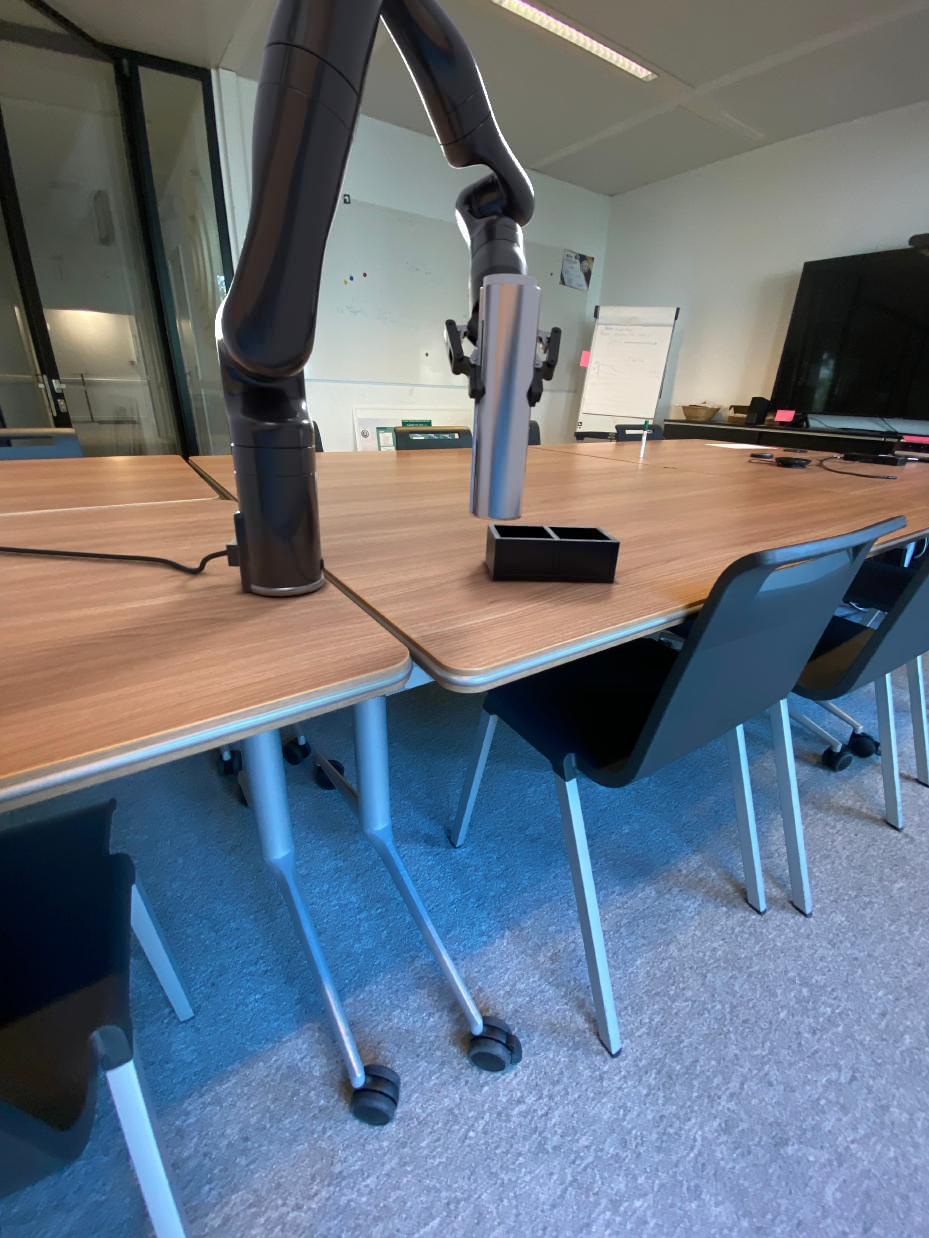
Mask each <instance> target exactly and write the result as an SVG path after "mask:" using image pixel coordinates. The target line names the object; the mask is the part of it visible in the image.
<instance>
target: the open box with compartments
mask: <svg viewBox="0 0 929 1238" xmlns="http://www.w3.org/2000/svg"><path fill="white" fill-rule="evenodd" d="M620 545H621V541H619V539H616V538H615V537H614V536H613V535H611V534H610V533H608V532H607V531H606V530H604V529H603V528H602V527H601V526H582V525H581V526H580V525H579V526H578V525H577V526H576V525H543V524H542V525H540V524H513V523H512V524H511V523H509V524H507V523H487V530H486V544H485V560H484V561H485V564H486V568H487V569H488V572H489V574H490V577H491V579H492V581H496V582H497V581H499V582H501V581H502V582H540V583H541V582H542V583H543V582H544V583H545V582H546V583H547V582H548V583H591V584H592V583H594V584H596V583H598V584H614V583H615V576H616V570H617V564H618V559H619V552H620Z"/></svg>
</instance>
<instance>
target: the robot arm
mask: <svg viewBox="0 0 929 1238" xmlns="http://www.w3.org/2000/svg"><path fill="white" fill-rule="evenodd" d="M380 19H381V20H382V22H383V24H384V26H385V28H386V29H387V31H388V33H389V35H390V37H391V39H392V40H393V43H394V44H395V46H396V48H397V50H398V52H399V54H400V56H401V58H402V60H403V62H404V64H405V66H406V69H407V71H408V72H409V75H410V76H411V79H412V82H413V83H414V86H415V88H416V90H417V92H418V94H419V97H420V99H421V102H422V105H423V106H424V110H425V112H426V115H427V117H428V120H429V122H430V124H431V127H432V129H433V131H434V135H435V137H436V140H437V142H438V143H439V148H440V149H441V151H442V154H443V156H444V159H445V161H446V162H447V164H448V166H449V167H451V168H453V169H458V170H459V169H460V170H461V169H466V168H470V167H474V166H475V167H476V166H485V167H487V168H488V169H490V170H491V171H492V172H490V173H488V174H487V175H485V176H483V177H481V178H479V179H478V180H476V181H474V182H472V183H470V184H468V185H467V186H466V187H464V188H463V189H461V190H460V192H459V194H458V196H457V197H456V199H455V204H454V217H455V220H456V224H457V226H458V229H459V231H460V233H461V235H462V237H463V238H464V240H465V243H466V244H467V247H468V251H469V274H468V275H469V276H468V290H467V295H468V303H469V305H468V306H469V320H467V322H466V324H460V325H457V323H456V321H455V320H454V319H451V318H448V319H446V320H445V321H444V335H443V336H444V337H443V342H444V343H443V344H444V346H445V347H444V348H445V351H446V354H447V358H448V362H449V367H450V371H451V373H452V375H455V376H460V375H462V374H463V375H464V376H466V377H467V395H468V398H469V399H472V400H473V403H474V404H480V399H481V398H482V393H483V383H482V382H481V367H482V365H476V364H477V343H478V323H479V303H480V288H481V287H483V281H484V277H485V276H488V275H492V274H520V275H526V276H530V271H529V268H528V264H527V259H526V247H525V239H524V234H523V231H522V229H524V228H525V227H526V226H527V225H529V224H530V222H531V221H532V219H533V217H534V214H535V209H536V197H535V192H534V188H533V186H532V183H531V180H530V179H529V177H528V175H527V173H526V171H525V170H524V169H523V167H522V165H521V164H520V163H519V161H518V160H517V158H516V157H515V154H513V152H512V150H511V149H510V147H509V145H508V143H507V141H506V139H505V138H504V136H503V134H502V132H501V130H500V128H499V126H498V123H497V120H496V118H495V116H494V115H495V114H494V113H493V109H492V106H491V104H490V101H489V97H488V93H487V90H486V87H485V85H484V82H483V78H482V76H481V72H480V69H479V66H478V64H477V61H476V59H475V57H474V55H473V54H474V53H472V50H471V48H470V46H469V45H468V42H467V41H466V39H465V38H464V37H465V36H463V34H462V33H461V30H459V28H458V26H456V24H455V22H454V21H453V20H452V19H451V17H450V16H449V14H448V13H447V12H446V10H445V9H444V8H443V7H442V5H441V4H440V2H439V1H438V0H277V3H276V5H275V8H274V11H273V14H272V17H271V21H270V24H269V27H268V31H267V35H266V39H265V43H264V48H263V54H262V58H261V64H260V70H259V71H260V72H259V77H258V83H257V88H256V95H255V102H254V111H253V112H254V113H253V122H252V124H253V125H252V134H251V135H252V136H251V137H252V138H251V197H250V198H251V200H250V209H249V217H248V220H247V227H246V231H245V235H244V240H243V243H242V247H241V250H240V255H239V257H238V262H237V266H236V269H235V272H234V275H233V279H232V282H231V285H230V288H229V290H228V293H227V295H226V297H225V298H224V300H222V303H221V304H220V306H219V308H218V311H217V313H216V317H215V341H216V349H217V358H218V365H219V372H220V373H219V374H220V381H221V387H222V388H221V389H222V395H223V396H222V397H223V406H224V411H225V416H226V421H227V426H228V433H229V438H230V443H231V444H230V446H231V448H230V449H231V456H232V464H233V465H232V466H233V471H234V480H235V488H236V489H235V490H236V498H237V506H238V507H237V508H238V511H236V512H234V514H233V524H234V533H235V537H234V538H233V539H231V540H230V541H229V542H227V543H226V544H225V549H224V550H219V551H215V552H212V553H210V554H207V555H206V556H204V557H203V558H202V559H201V561H200V563H199V565H198V566H197V567H193V568H192V567H188V566H185V565H183V564H180V563H178V562H176V561H173V560H171V559H168V558H162V557H156V556H147V555H134V554H133V555H131V554H114V553H113V554H112V553H100V552H82V551H67V550H56V549H55V550H53V549H39V548H38V549H37V548H25V547H11V546H0V552H1V553H3V552H4V553H14V554H16V553H17V554H27V555H28V554H29V555H44V556H56V557H57V556H58V557H59V556H60V557H74V558H87V559H105V560H117V561H118V560H119V561H139V562H150V563H158V564H159V563H160V564H164V565H167V566H169V567H170V566H171V567H173V568H175V569H177V570H180V571H183V572H186V573H189V574H199V573H201V572H203V571H204V570H205V568H206V565H207V563H209V562H210V561H212V560H214V559H217V558H221V557H226V556H227V557H226V558H227V566H228V567H235V568H236V567H238V568H239V575H240V582H241V591H242V592H250V593H254V594H256V595H261V596H267V597H291V596H298V595H299V596H300V595H304V594H308V593H312V592H314V591H317V590H318V589H320V588H321V587H322V586H323V585H324V583H325V580H324V573H323V571H324V570H325V560H324V558H323V557H322V541H321V526H320V525H321V524H320V508H319V507H320V506H319V494H318V493H319V492H318V491H319V490H318V475H317V457H316V442H315V441H316V439H315V437H316V436H315V426H314V422H313V419H312V417H311V414H310V409H309V405H308V399H307V390H306V378H305V367H306V365H307V364H308V362H309V361H310V358H311V357H312V354H313V351H314V348H315V342H316V334H317V324H318V315H319V303H320V295H321V286H322V279H323V278H322V277H323V271H324V262H325V255H326V250H327V247H328V246H327V245H328V242H329V238H330V234H331V230H332V228H333V224H334V220H335V218H336V214H337V210H338V207H339V203H340V200H341V196H342V192H343V188H344V185H345V182H346V181H345V180H346V177H347V172H348V169H349V166H350V162H351V157H352V154H353V149H354V144H355V140H356V135H357V131H358V125H359V121H360V116H361V112H362V107H363V100H364V95H365V88H366V83H367V79H368V74H369V68H370V65H371V61H372V55H373V52H374V51H373V50H374V46H375V44H376V43H375V42H376V38H377V33H378V28H379V24H380ZM562 332H563V331H562V329H561V328H560V327H558V326H553V327H552V328H551V330H550V331H545V330H540V329H538V337H537V344H538V345H539V346H540V349H541V350H542V351H541V353H542V354H543V355H545V356H544V360H541V358H540V356H539V355H538V353H537V352H536V360H535V371H534V379H533V382H532V388H531V399H530V405H531V408H536V405H537V404H539V403H540V401H541V399H542V396H543V394H544V393H543V392H544V382H543V381H546V382H551V381H552V380H553V378H554V374H555V370H556V368H557V365H558V363H559V362H558V361H559V354H560V347H561V339H562ZM464 339H467V341H468V342H470V344H471V345H472V346H473V347H474V349H473V351H472V353H470V354H471V355H470V356H467V355H466V354H465V352H464V348H463V343H464ZM481 360H482V355H481ZM474 404H473V405H474Z"/></svg>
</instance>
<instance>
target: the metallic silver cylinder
mask: <svg viewBox="0 0 929 1238" xmlns="http://www.w3.org/2000/svg"><path fill="white" fill-rule="evenodd" d="M537 284H538V279H537V278H536V277H534V276H531V275H529V276H526V275H520V274H492V275H488V276H485V277H484V281H483V287H481V288H480V303H479V323H478V343H477V364H476V365H482V367H481V382H482V383H483V393H482V398H481V399H480V404H473V405H474V406H473V425H472V430H473V431H472V449H471V466H470V485H469V487H470V488H469V505H468V506H469V507H468V508H469V509H468V514H469V515H470V516H471V517H472V518H475V519H480V520H484V521H495V522H509V521H516V520H519V519H521V518H522V516H523V506H524V505H523V504H524V494H525V482H526V472H527V460H528V450H529V437H530V427H531V416H532V407H531V405H530V399H531V388H532V382H533V379H534V371H535V360H536V353H537V348H538V342H537V337H538V330H539V325H540V316H541V315H540V314H541V313H540V312H541V301H542V292H543V291H542V289H541V288H540V287H538V286H537ZM481 355H482V360H481Z"/></svg>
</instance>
